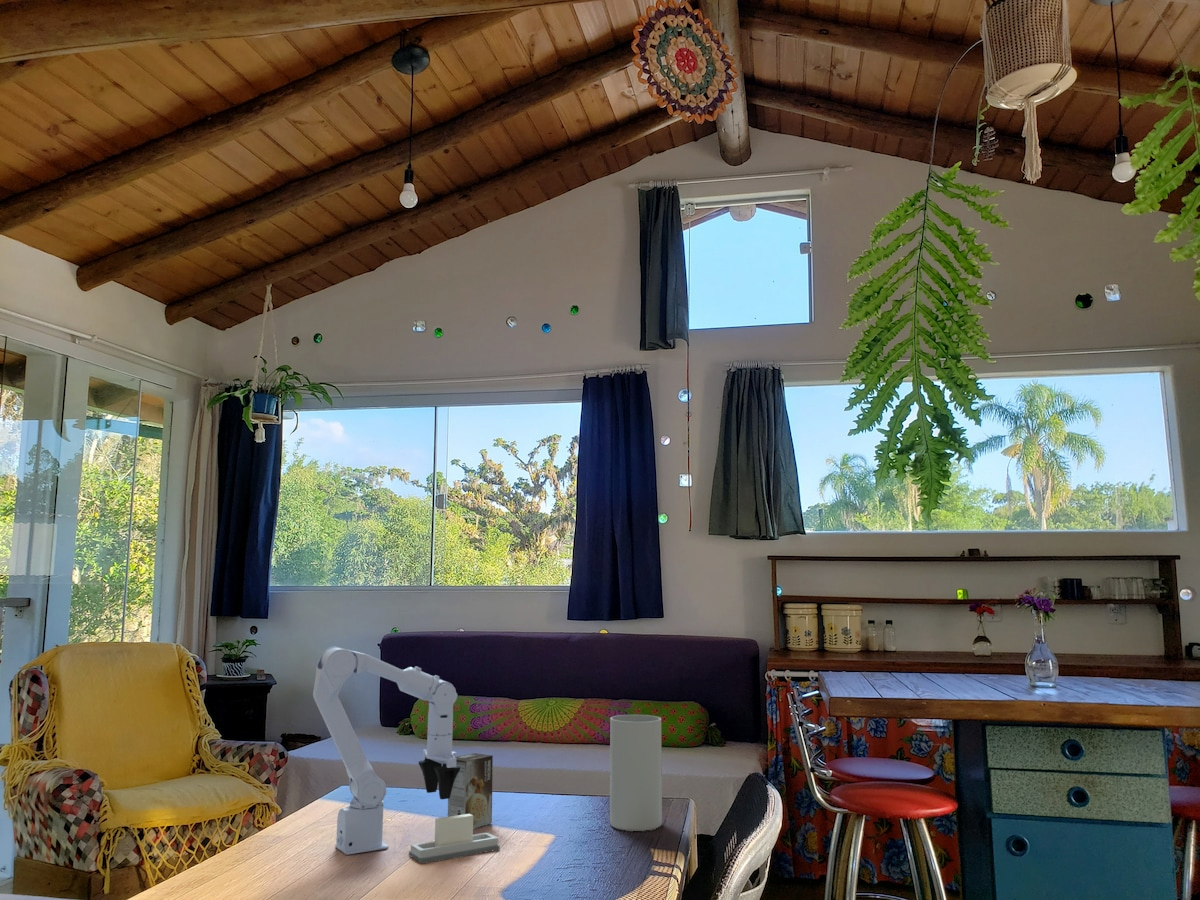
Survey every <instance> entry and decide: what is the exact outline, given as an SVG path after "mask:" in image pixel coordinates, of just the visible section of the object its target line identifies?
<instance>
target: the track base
mask: <svg viewBox="0 0 1200 900" xmlns="http://www.w3.org/2000/svg"><path fill="white" fill-rule="evenodd" d="M498 844H499V837H497V836H496V835H493V834H490V833H489V832H482V833H475V834H474V833H473V841H467V842H461V843H455V844H449V845H443V846H437V847H435V840H433V841H425V842H419V843H413V844H411V845H410V850H409V851H408V855H409V857H411V856H412V857H411V858H412V859H414V858H415V859H414V860H415V861H417V860H418V862H419V863H420V862H421V863H420V864H427V863H426V862H428V863H433V862H439V861H444V859H445V860H449V858H451V859H455V858H454V857H456V858H460V856H462V857H466V856H465V855H468V856H471V855H470V854H473V855H477V854H476V853H479V854H481V853H480V852H485V851H491V852H493V851H492V850H496V851H499V850H498V849H500V845H498ZM485 853H486V852H485Z"/></svg>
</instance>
